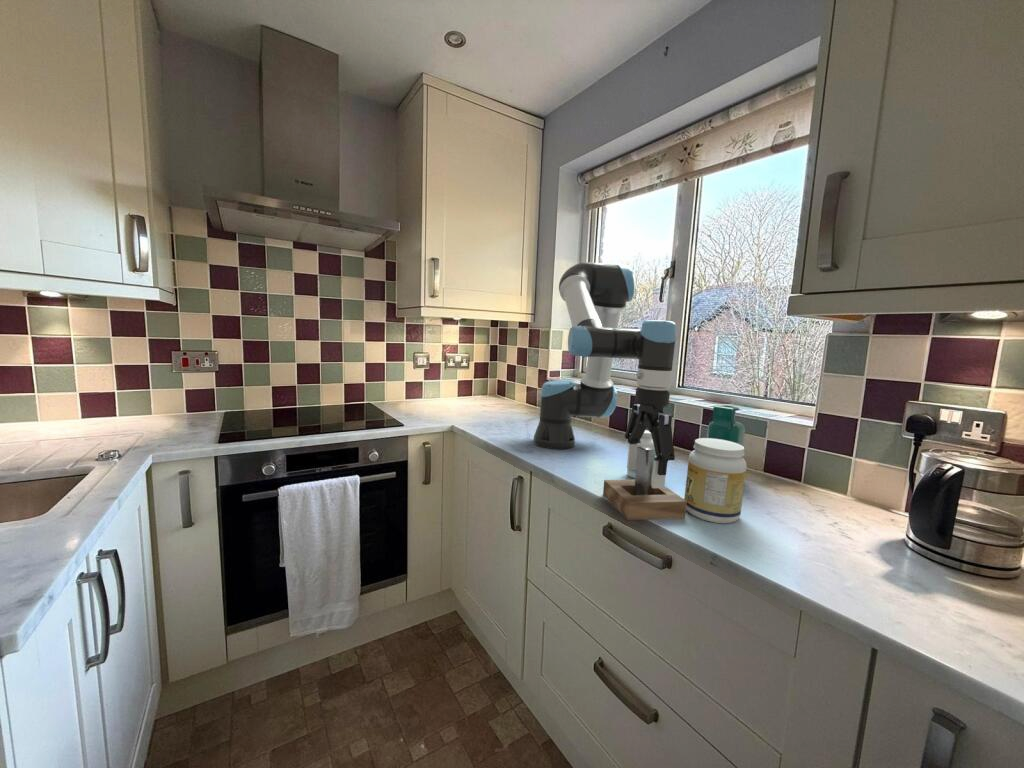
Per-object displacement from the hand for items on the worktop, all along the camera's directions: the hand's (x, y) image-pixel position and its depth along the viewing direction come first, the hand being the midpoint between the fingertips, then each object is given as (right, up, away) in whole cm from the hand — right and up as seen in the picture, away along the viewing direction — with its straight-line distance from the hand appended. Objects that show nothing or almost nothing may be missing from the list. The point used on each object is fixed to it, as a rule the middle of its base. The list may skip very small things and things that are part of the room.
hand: (644, 478), depth 98 cm
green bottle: (+30, -6, +24) cm, 39 cm away
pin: (0, -7, +1) cm, 7 cm away
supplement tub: (+15, -8, -1) cm, 17 cm away
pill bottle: (+6, -5, +22) cm, 23 cm away
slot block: (0, -7, +1) cm, 7 cm away
